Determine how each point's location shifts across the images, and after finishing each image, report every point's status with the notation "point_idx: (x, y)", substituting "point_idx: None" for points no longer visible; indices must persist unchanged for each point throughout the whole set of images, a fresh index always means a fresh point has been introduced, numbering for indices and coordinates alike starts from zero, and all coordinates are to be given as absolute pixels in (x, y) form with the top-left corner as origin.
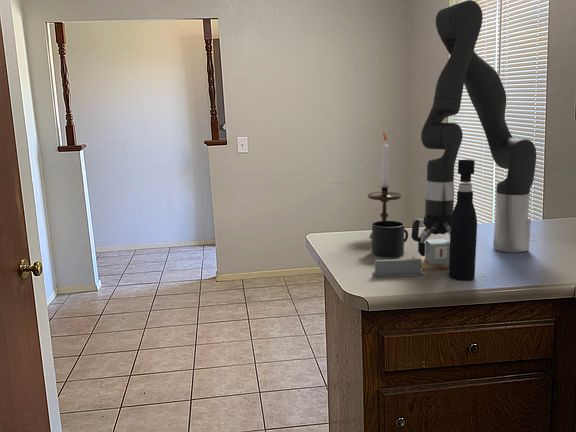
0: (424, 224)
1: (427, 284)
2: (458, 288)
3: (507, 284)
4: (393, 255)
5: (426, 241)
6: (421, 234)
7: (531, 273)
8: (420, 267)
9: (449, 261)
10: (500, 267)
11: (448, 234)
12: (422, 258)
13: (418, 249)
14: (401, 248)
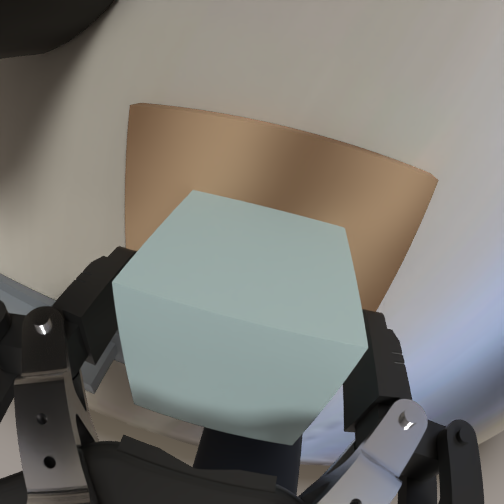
0: (1, 482)
1: (127, 399)
2: (198, 439)
3: (338, 456)
4: (45, 51)
5: (120, 308)
6: (27, 374)
7: (470, 420)
8: (105, 366)
9: (198, 449)
10: (472, 376)
11: (349, 459)
12: (178, 176)
13: (84, 277)
14: (66, 12)
